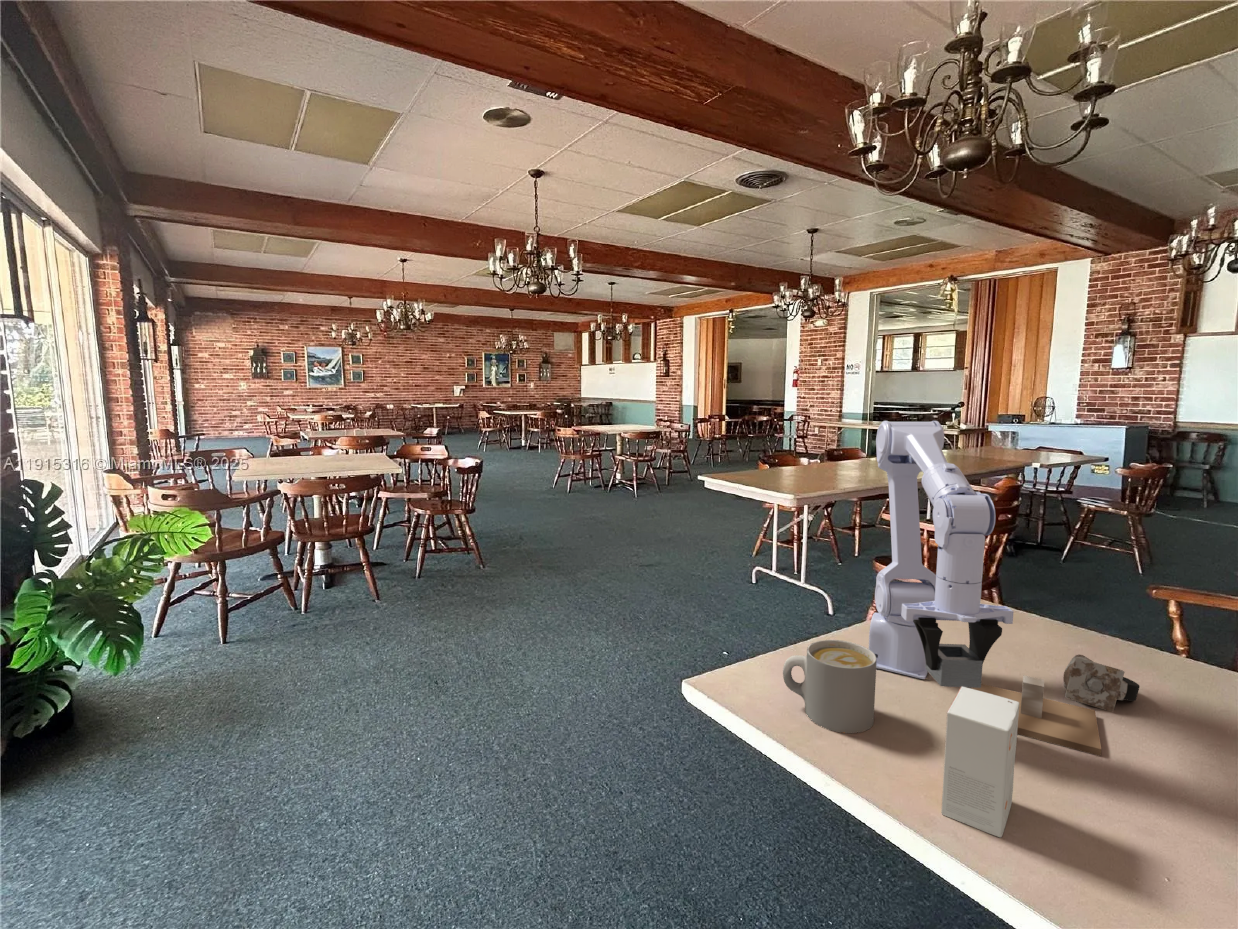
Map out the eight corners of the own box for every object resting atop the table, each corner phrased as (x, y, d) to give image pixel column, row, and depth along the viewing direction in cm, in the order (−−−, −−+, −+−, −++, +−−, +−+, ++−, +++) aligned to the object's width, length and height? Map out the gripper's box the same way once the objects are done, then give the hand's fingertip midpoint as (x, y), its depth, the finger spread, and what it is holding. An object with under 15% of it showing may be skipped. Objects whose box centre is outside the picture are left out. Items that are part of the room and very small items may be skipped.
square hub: (940, 686, 86) (942, 659, 85) (925, 668, 91) (926, 643, 91) (980, 687, 85) (982, 660, 85) (962, 670, 91) (964, 644, 90)
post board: (965, 720, 91) (968, 682, 91) (973, 687, 101) (975, 653, 100) (1100, 756, 82) (1104, 715, 81) (1094, 716, 92) (1098, 679, 91)
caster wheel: (1115, 701, 101) (1149, 724, 92) (1040, 678, 104) (1065, 698, 95) (1126, 662, 101) (1162, 682, 91) (1050, 641, 104) (1077, 658, 94)
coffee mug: (881, 711, 94) (884, 650, 93) (862, 741, 86) (865, 675, 85) (797, 686, 102) (799, 629, 101) (773, 711, 94) (775, 650, 93)
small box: (954, 780, 78) (961, 684, 76) (1012, 802, 74) (1021, 701, 72) (939, 815, 71) (945, 711, 70) (1001, 840, 67) (1010, 731, 66)
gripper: (916, 585, 83) (911, 679, 85) (1028, 588, 82) (1020, 683, 83) (898, 570, 90) (893, 656, 92) (1001, 572, 89) (994, 660, 90)
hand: (952, 668), depth 88 cm, fingers closed on square hub, 5 cm apart
